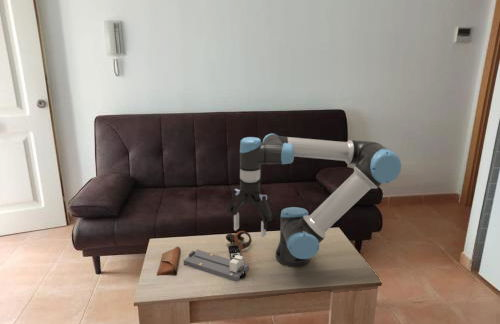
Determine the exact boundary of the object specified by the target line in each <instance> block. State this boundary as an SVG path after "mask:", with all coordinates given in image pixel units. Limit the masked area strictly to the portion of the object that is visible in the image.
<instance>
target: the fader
mask: <svg viewBox="0 0 500 324" xmlns="http://www.w3.org/2000/svg"><path fill="white" fill-rule="evenodd" d="M243 263H244V256H242V255H240V254H239V255H238V254H236V255H235V256H234V257H233V258H232V259H231V261H230V271H233V272H237V271H238V270H239V268H240V267H241V266H243Z"/></svg>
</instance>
